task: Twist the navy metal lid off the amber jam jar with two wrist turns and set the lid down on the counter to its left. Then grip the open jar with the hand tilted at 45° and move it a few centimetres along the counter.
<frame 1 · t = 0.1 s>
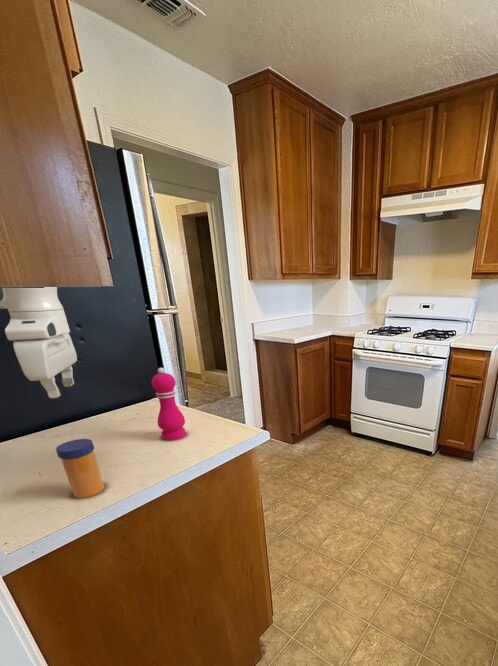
hand: (62, 391, 77), 19 cm above the counter, tool pointing down, fingers open, 8 cm apart
jar lid: (74, 446, 71), point 10 cm above the counter, screwed on, not yet turned
jar: (89, 490, 75), on the counter
pepper mill: (174, 436, 102), on the counter
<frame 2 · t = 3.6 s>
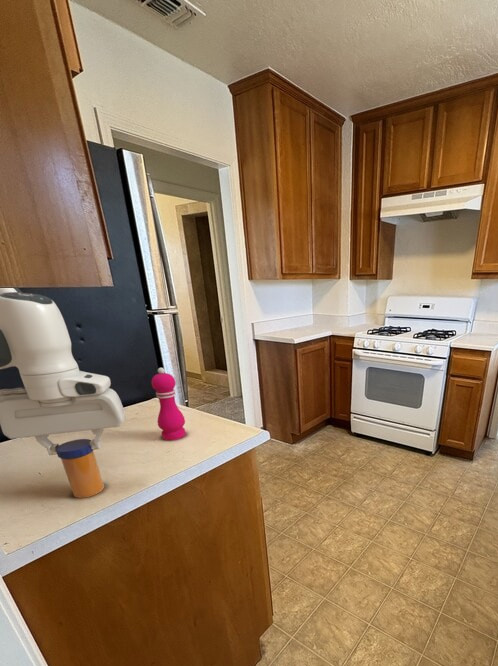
hand: (76, 451, 72), 9 cm above the counter, tool pointing down, fingers closed on jar lid, 6 cm apart
jar lid: (74, 446, 71), point 10 cm above the counter, screwed on, not yet turned, touching gripper
everything else where it was.
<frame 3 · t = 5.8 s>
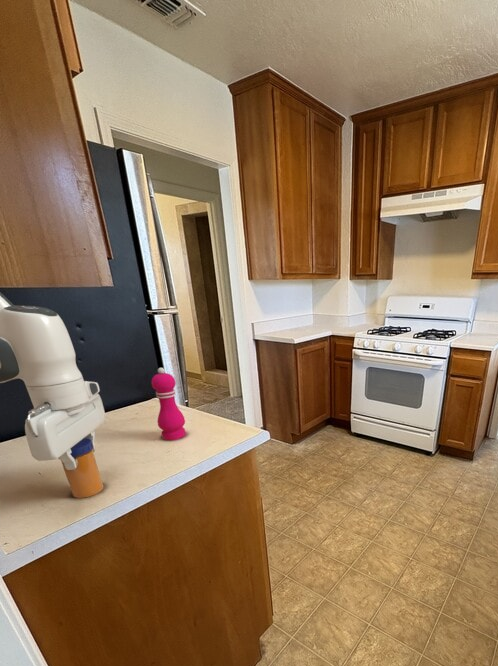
hand: (82, 459, 73), 7 cm above the counter, tool pointing down, fingers closed on jar, 5 cm apart
jar lid: (73, 445, 71), point 11 cm above the counter, turned 79° so far, risen 0.2 cm, still on its thread
jar: (88, 490, 75), on the counter, touching gripper
everything else where it was.
when the fingers open (7 cm above the counter, at t = 7.8 s): jar stays where it is, on the counter.
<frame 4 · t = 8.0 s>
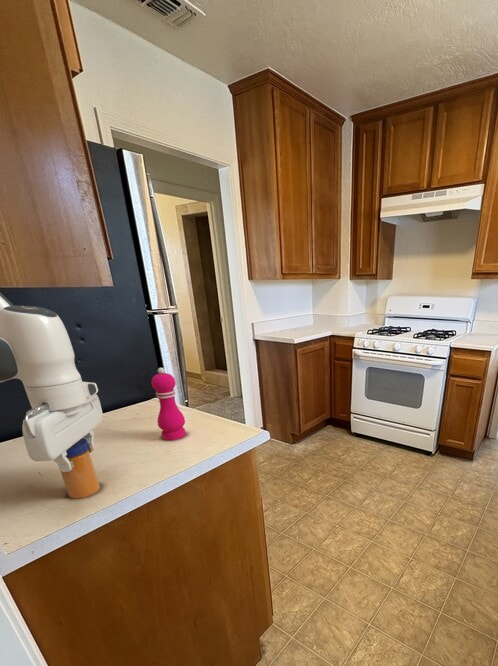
hand: (79, 460, 73), 7 cm above the counter, tool pointing down, fingers open, 7 cm apart
jar: (84, 491, 75), on the counter
everything else where it was.
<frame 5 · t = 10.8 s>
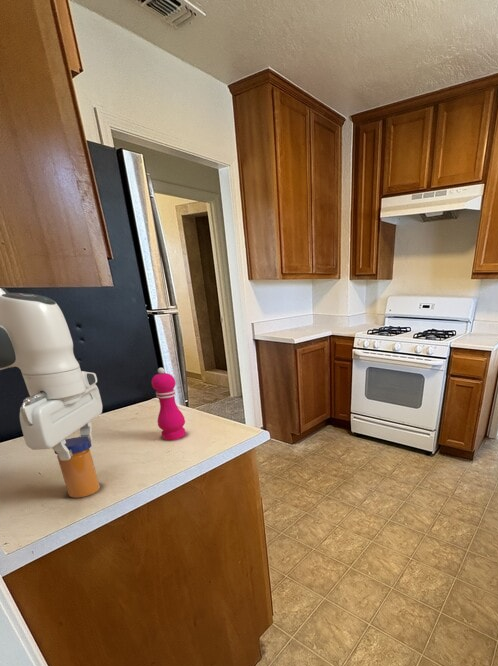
hand: (77, 450, 72), 9 cm above the counter, tool pointing down, fingers closed on jar lid, 6 cm apart
jar lid: (72, 443, 71), point 11 cm above the counter, off its thread, touching gripper
everything else where it was.
when the fingers open (0 cm above the counter, at t = 20.2 s): jar lid stays where it is, point 1 cm above the counter.
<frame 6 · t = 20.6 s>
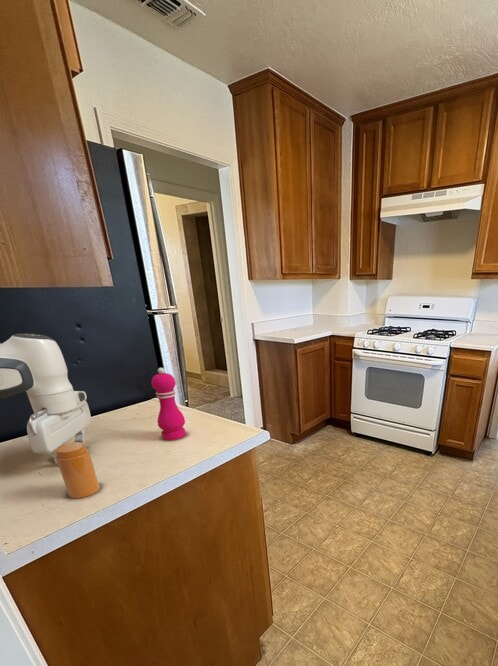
hand: (71, 453, 90), 1 cm above the counter, tool pointing down, fingers open, 8 cm apart
jar lid: (69, 452, 90), point 1 cm above the counter, off its thread
everything else where it was.
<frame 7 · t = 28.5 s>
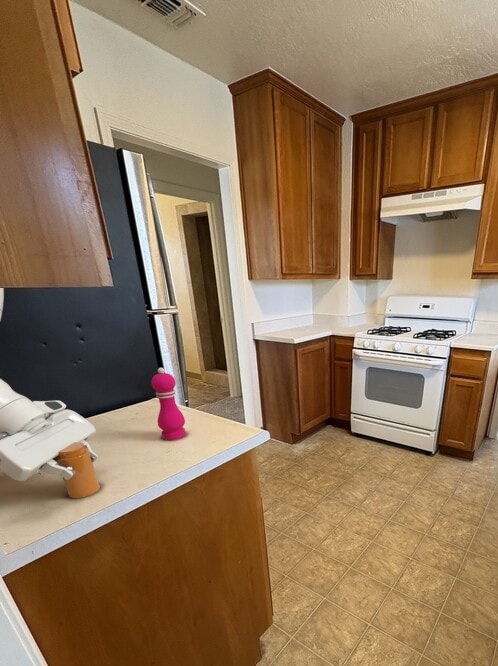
hand: (84, 467, 73), 6 cm above the counter, tool tilted 45°, fingers closed on jar, 5 cm apart
jar: (84, 491, 75), on the counter, touching gripper
everything else where it was.
when the fingers open (6 cm above the counter, at t = 33.6 s): jar stays where it is, on the counter.
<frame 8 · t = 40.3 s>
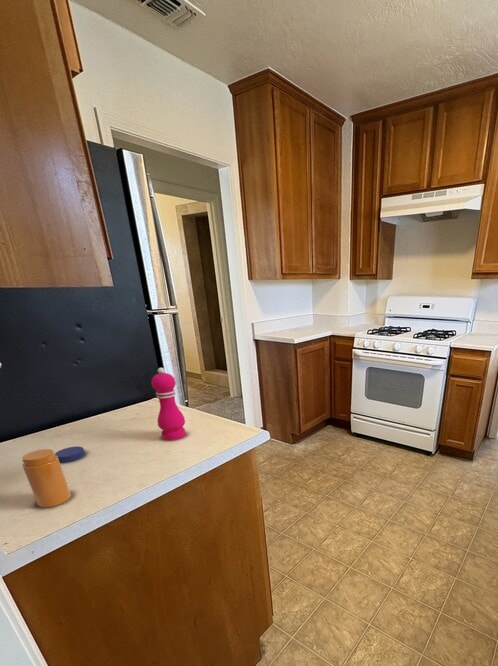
jar: (54, 499, 72), on the counter
everything else where it was.
at the end: jar lid inside the target area (0.4 cm from its centre), point 1.3 cm above the counter; the gripper is holding nothing; jar 0.9 cm from the target spot, on the counter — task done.
